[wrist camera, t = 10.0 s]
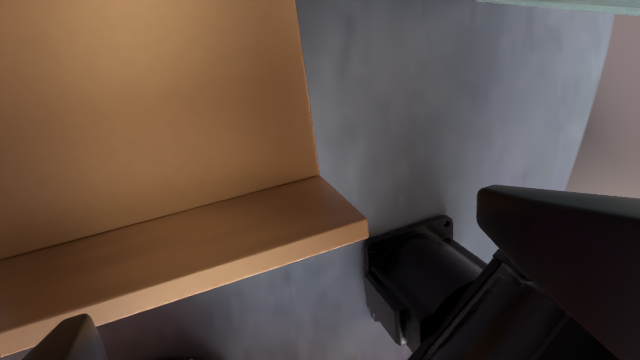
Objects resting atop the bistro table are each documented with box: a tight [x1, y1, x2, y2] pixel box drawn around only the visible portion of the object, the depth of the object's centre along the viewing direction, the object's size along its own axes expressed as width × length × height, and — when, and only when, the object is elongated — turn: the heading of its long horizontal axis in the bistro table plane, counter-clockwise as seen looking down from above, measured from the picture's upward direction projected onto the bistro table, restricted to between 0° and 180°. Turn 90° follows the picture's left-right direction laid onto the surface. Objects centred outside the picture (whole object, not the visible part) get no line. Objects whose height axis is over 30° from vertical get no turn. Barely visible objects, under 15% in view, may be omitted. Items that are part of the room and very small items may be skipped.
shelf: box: [0, 0, 369, 358], centre depth 13 cm, size 20×11×10 cm, turn 100°
